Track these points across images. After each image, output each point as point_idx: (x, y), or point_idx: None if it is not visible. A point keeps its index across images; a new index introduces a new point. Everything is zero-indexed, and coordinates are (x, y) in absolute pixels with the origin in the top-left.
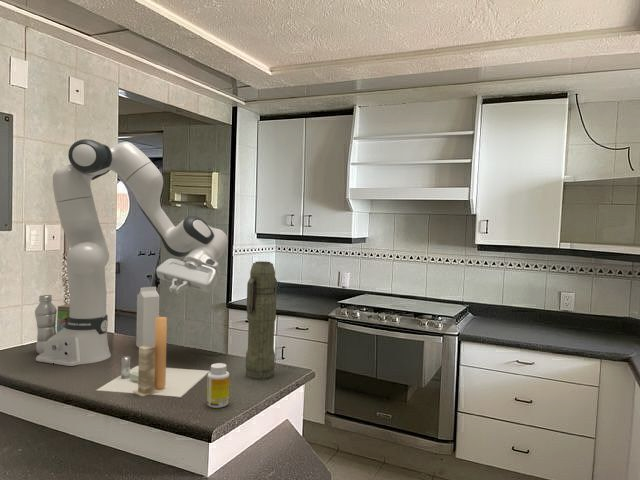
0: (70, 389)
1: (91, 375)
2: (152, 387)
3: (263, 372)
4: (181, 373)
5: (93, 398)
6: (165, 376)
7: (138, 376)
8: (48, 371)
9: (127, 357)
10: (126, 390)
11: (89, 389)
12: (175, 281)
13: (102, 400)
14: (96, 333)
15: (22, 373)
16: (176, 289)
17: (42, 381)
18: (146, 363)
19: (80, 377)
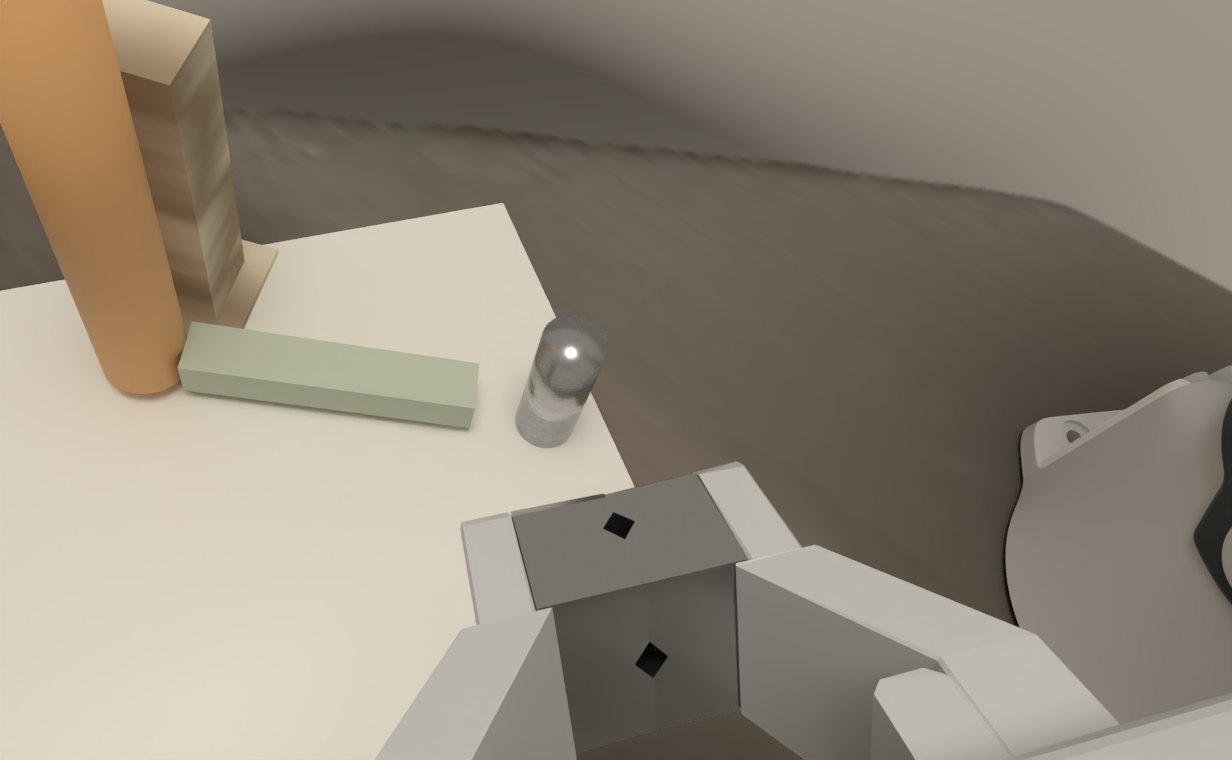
0: (640, 182)
1: (772, 374)
2: None
3: None
4: (217, 723)
5: (420, 138)
6: (87, 333)
7: (233, 195)
8: (1008, 320)
9: (562, 345)
10: (338, 259)
11: (558, 215)
12: (897, 705)
13: (352, 134)
14: (1197, 502)
15: (1053, 249)
16: (498, 515)
17: (862, 209)
18: None
19: (784, 324)
